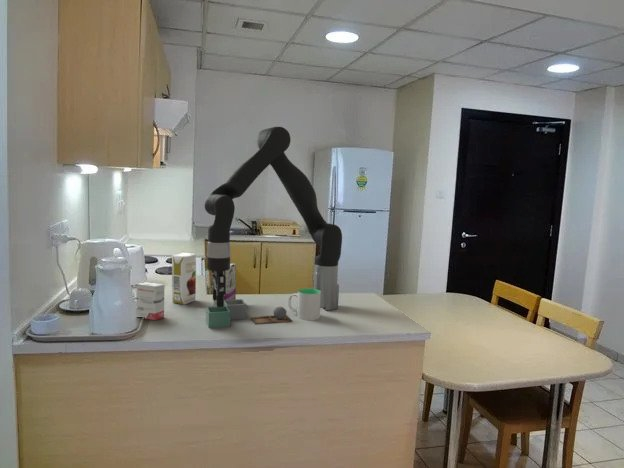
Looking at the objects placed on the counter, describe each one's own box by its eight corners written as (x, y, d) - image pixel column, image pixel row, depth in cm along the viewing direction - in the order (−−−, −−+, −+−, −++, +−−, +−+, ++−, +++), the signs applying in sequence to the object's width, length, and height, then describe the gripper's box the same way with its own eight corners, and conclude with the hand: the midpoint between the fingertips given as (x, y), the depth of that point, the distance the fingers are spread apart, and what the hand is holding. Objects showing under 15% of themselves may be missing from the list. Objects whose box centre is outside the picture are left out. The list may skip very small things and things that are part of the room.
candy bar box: (223, 303, 188) (224, 262, 186) (235, 304, 187) (236, 263, 185) (212, 311, 177) (212, 267, 175) (225, 312, 176) (225, 268, 174)
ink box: (165, 316, 168) (165, 283, 167) (156, 320, 164) (156, 286, 162) (144, 313, 171) (144, 281, 170) (135, 317, 166) (135, 284, 165)
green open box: (226, 322, 164) (226, 305, 163) (230, 329, 158) (230, 311, 157) (205, 324, 162) (205, 307, 161) (208, 330, 155) (208, 312, 155)
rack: (286, 318, 172) (286, 314, 171) (292, 324, 165) (292, 320, 165) (250, 321, 167) (250, 316, 167) (255, 327, 161) (255, 322, 160)
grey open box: (242, 315, 174) (242, 299, 173) (246, 320, 167) (246, 304, 166) (222, 316, 171) (223, 300, 170) (226, 322, 165) (226, 305, 164)
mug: (283, 319, 170) (284, 291, 169) (291, 313, 178) (292, 286, 177) (315, 324, 167) (316, 295, 165) (322, 317, 174) (323, 290, 173)
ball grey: (284, 317, 170) (284, 304, 169) (287, 320, 166) (288, 308, 165) (271, 317, 168) (272, 305, 168) (275, 321, 164) (275, 309, 164)
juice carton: (169, 302, 186) (169, 254, 184) (182, 297, 194) (183, 251, 192) (185, 305, 183) (185, 256, 181) (198, 300, 191) (198, 253, 189)
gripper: (234, 258, 151) (233, 308, 153) (226, 251, 165) (225, 297, 167) (210, 259, 149) (209, 309, 151) (204, 251, 162) (203, 298, 164)
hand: (218, 303), depth 159 cm, fingers open, 8 cm apart
